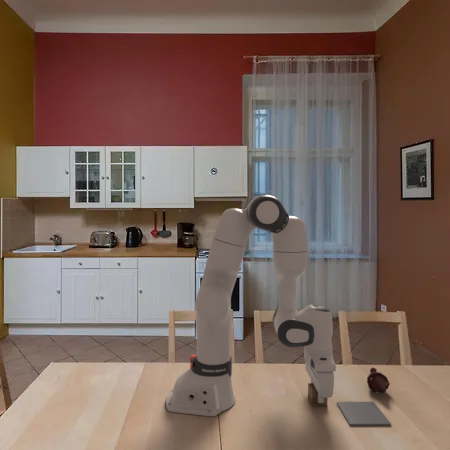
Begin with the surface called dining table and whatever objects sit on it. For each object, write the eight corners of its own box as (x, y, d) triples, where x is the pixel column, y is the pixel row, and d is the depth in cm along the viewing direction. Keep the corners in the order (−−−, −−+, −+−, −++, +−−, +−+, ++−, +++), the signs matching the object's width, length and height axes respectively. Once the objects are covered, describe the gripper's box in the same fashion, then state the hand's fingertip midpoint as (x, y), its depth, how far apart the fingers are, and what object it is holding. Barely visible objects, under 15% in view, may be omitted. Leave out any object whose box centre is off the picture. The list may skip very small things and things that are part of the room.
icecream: (399, 384, 115) (383, 368, 130) (376, 377, 116) (363, 362, 131) (394, 405, 115) (378, 386, 130) (371, 398, 116) (358, 380, 131)
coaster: (350, 425, 103) (350, 423, 103) (336, 403, 115) (336, 401, 115) (391, 425, 103) (391, 423, 103) (373, 403, 115) (373, 401, 115)
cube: (311, 406, 114) (311, 390, 113) (307, 398, 119) (308, 383, 118) (327, 406, 114) (327, 390, 113) (322, 398, 119) (323, 383, 118)
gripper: (301, 343, 126) (300, 381, 126) (316, 368, 105) (316, 414, 106) (318, 343, 126) (318, 381, 126) (337, 368, 106) (337, 414, 106)
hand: (317, 396), depth 116 cm, fingers closed on cube, 5 cm apart
